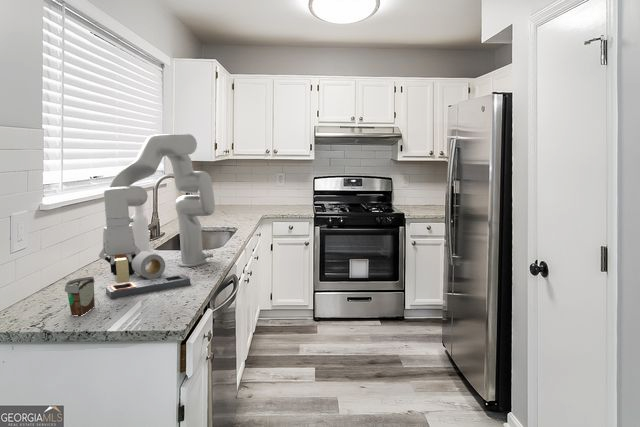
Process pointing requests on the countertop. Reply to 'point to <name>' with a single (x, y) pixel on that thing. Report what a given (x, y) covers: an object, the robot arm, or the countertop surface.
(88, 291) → the food container
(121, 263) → the tan wooden block
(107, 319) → the countertop surface
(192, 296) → the countertop surface
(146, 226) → the bottle
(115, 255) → the battery
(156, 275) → the toilet paper
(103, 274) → the countertop surface
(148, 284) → the rail
